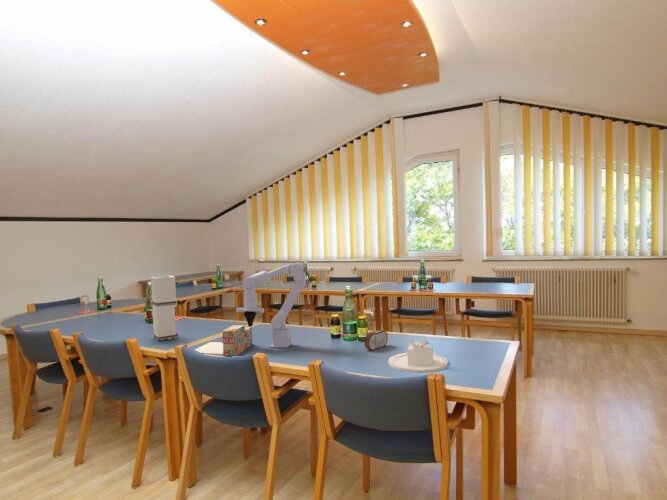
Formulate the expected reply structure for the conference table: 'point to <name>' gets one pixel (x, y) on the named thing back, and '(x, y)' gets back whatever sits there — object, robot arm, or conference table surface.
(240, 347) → the printed cardboard box
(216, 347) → the mat
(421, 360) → the dish
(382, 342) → the slice of bread
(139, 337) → the conference table surface
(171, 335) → the white mini fridge
